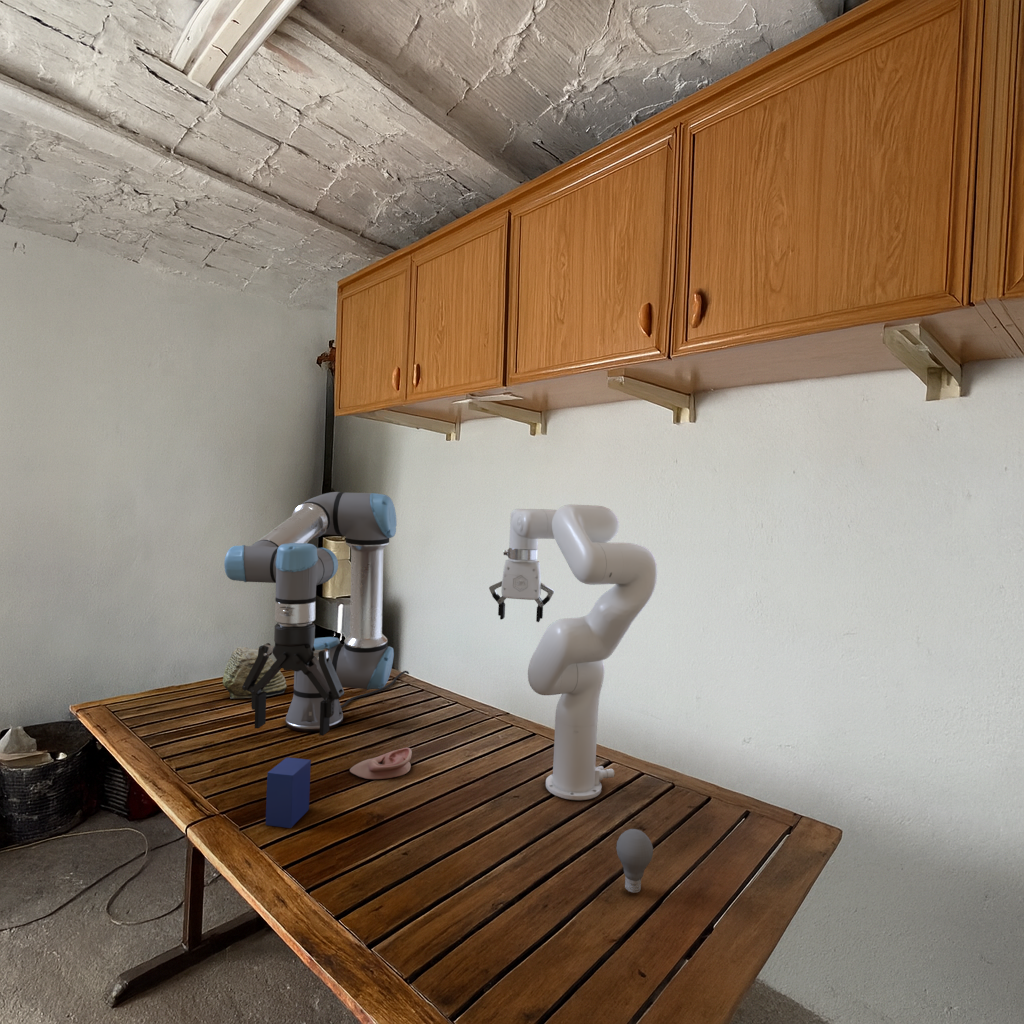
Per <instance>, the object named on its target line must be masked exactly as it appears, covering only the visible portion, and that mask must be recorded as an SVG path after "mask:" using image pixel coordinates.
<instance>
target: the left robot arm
mask: <svg viewBox="0 0 1024 1024" xmlns="http://www.w3.org/2000/svg"><path fill="white" fill-rule="evenodd" d="M396 533H397V513H396V508H395V504H394V502H393V499H392V498H391V497H390V496H389V495H387V494H382V493H375V492H346V491H345V492H343V491H332V492H331V491H330V492H326V493H322V494H319V495H317V496H314V497H312V498H309V499H307V500H306V501H304V502H302V503H301V504H299V505H297V506H296V507H295V508H294V510H293V511H292V514H291V516H289V517H288V518H286V519H285V520H284V521H283V522H281V523H280V524H279V525H277V526H275V528H273V529H271V530H270V531H269V532H267V533H266V534H265V535H263V536H262V537H261V538H259V539H258V540H256V541H255V542H254V543H252V544H251V545H245V544H242V545H233V546H231V547H230V548H229V549H227V551H226V554H225V556H224V562H223V563H224V565H223V566H224V573H225V576H227V578H229V579H230V580H231V581H236V582H244V583H268V584H269V583H270V584H275V599H274V600H275V601H274V602H275V603H274V605H275V607H274V621H275V622H276V624H275V625H274V629H273V630H274V633H273V635H274V636H273V641H274V645H271V643H269V642H266V643H264V644H262V645H260V646H258V648H259V650H258V657H257V659H256V661H255V663H254V665H253V667H252V669H251V670H250V672H249V674H248V676H247V678H246V680H245V682H244V684H243V686H242V689H243V690H244V691H246V690H247V691H249V692H251V694H252V698H251V710H252V711H254V729H260V728H261V727H262V726H264V725H266V715H267V696H266V692H265V691H263V692H261V691H262V690H263V688H264V687H265V686H266V685H267V684H268V683H269V682H270V681H271V679H272V678H273V677H274V676H275V675H276V674H277V673H278V672H279V671H280V672H281V670H282V669H283V671H293V695H292V696H293V697H292V699H291V702H290V704H289V708H288V711H287V713H286V715H285V726H286V728H287V729H289V730H291V731H294V732H295V731H296V732H301V733H316V732H319V736H323V737H324V736H325V735H326V734H327V733H328V732H330V730H332V729H335V728H337V727H339V726H340V725H342V723H343V722H344V714H343V709H342V708H345V707H346V706H347V705H348V704H349V703H350V702H352V701H354V700H356V699H359V698H363V697H367V696H370V695H373V694H376V693H379V692H382V691H384V690H386V689H388V688H390V687H391V686H392V685H393V684H395V683H396V681H397V679H399V678H400V677H401V676H402V675H403V674H407V675H410V672H409V671H408V670H403V671H401V672H400V673H399V674H398V675H396V676H395V677H394V678H393V680H392V681H391V682H390V683H388V681H389V678H390V675H391V673H392V668H393V664H394V656H395V652H394V647H392V646H390V645H389V646H388V638H387V637H386V636H385V635H384V634H383V595H384V550H385V548H386V547H387V546H388V545H389V544H390V539H392V538H394V537H395V535H396ZM324 535H336V536H345V544H346V545H347V546H348V547H349V548H350V617H349V618H350V620H349V623H350V625H349V633H350V634H349V635H348V636H347V637H346V638H345V639H344V641H343V642H344V643H343V644H342V643H341V641H340V639H339V638H338V637H334V636H325V637H316V624H315V623H314V622H315V621H316V600H317V586H319V585H323V584H326V583H327V582H329V581H330V580H331V579H332V578H333V577H335V576H336V574H337V572H338V569H339V560H338V558H337V555H336V554H335V553H334V551H332V550H331V549H329V548H325V547H317V546H316V545H315V544H313V543H309V542H311V541H312V539H317V538H320V537H322V536H324ZM272 655H273V656H274V658H275V660H274V664H273V665H272V666H271V667H270V669H269V670H268V671H267V672H266V673H265V675H264V676H263V677H262V678H261V679H260V680H259V681H258V682H257V684H255V683H256V681H257V679H258V677H259V675H260V673H261V671H262V670H263V668H264V666H265V664H266V662H267V660H268V658H270V656H272ZM344 689H360V690H361V689H363V690H366V691H369V690H372V691H369V692H366V693H363V694H362V693H361V694H358V695H356V696H355V695H354V696H353V697H350V698H349V699H347V700H346V701H345V702H344V703H342V704H341V702H340V698H342V697H343V696H344V695H345V690H344Z"/></svg>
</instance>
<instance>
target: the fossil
mask: <svg viewBox="0 0 1024 1024" xmlns="http://www.w3.org/2000/svg"><path fill="white" fill-rule="evenodd" d="M258 650H259V647H258V648H251V647H247V646H246V647H245V646H238V647H237V648H236V649H235V650H233V651H232V653H231V656H230V657H229V659H228V660H227V663H226V666H225V668H224V671H223V675H222V676H223V677H222V685H223V687H224V688H225V690H226V691H228V693H229V698H230V699H252V694H251V692H249V691H247V690H246V691H244V690H243V689H242V686H243V684H244V682H245V680H246V678H247V676H248V674H249V672H250V670H251V669H252V667H253V665H254V663H255V661H256V659H257V657H258ZM274 663H275V660H273V659H272V658H271V657H269V658H268V660H267V662H266V664H265V666H264V668H263V670H262V671H261V673H260V675H259V677H258V679H257V681H256V683H255V684H257V682H258V681H259V680H260V679H261V678H262V677H263V676H264V675H265V673H266V672H267V671H268V670H269V669H270V667H271V666H272V665H273V664H274ZM287 687H288V686H287V680H286V678H285V676H284V674H283V673H282V672H281V670H280V671H279V672H278V673H277V674H276V675H275V676H274V677H273V678H272V679H271V681H270V682H269V683H268V684H267V685H266V686H265V687H264V688H263V690H262V691H261V692H263V691H265V692H266V697H271V696H275V695H281V694H284V693H285V691H286V689H287Z"/></svg>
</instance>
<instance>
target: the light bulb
mask: <svg viewBox="0 0 1024 1024" xmlns="http://www.w3.org/2000/svg"><path fill="white" fill-rule="evenodd" d="M615 849H616V854H617V857H618V859H619V861H620V863H621V865H622V867H623V873H624V874H623V875H624V876H625V878H624V888H625V890H627V891H628V892H630V893H634V894H635V893H639V892H640V891H641V889H642V887H641V886H642V879H643V877H644V875H645V871H646V868H647V867H648V866H649V864H650V863H651V861H652V859H653V855H654V847H653V843H652V841H651V838H649V836H648V835H647V834H646V833H645V832H643V831H642V830H641V829H636V828H629V829H627V830H625V831H623V832H622V833H621V834H620V835H619V837H618V839H617V841H616V847H615Z"/></svg>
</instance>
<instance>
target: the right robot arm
mask: <svg viewBox="0 0 1024 1024" xmlns="http://www.w3.org/2000/svg"><path fill="white" fill-rule="evenodd" d="M509 520H510V521H509V541H508V543H509V544H508V549H504V550H503V556H506V557H507V558H508V559H506V560H505V561H504V566H503V571H502V578H501V579H502V580H501V581H499V582H497V583H493V584H492V585H489V587H488V589H489V592H490V593H491V596H492V598H493V600H494V601H496V602H497V604H498V607H497V608H498V609H497V611H498V613H497V615H498V617H499V620H504V619H505V617H506V603H505V601H506V599H511V600H512V599H513V600H527V601H535V602H536V604H537V606H536V618H535V619H536V620H535V621H536V622H535V623H540V621H541V619H543V618H544V606H545V605H547V604H548V602H550V600H551V599H552V598H553V595H554V594H555V590H554V589H553V588H551V587H549V586H547V585H546V584H545V583H542V573H541V563H540V561H539V560H538V550H539V549H538V546H539V540H540V539H542V540H545V539H546V540H551V539H552V540H555V543H556V544H557V546H558V548H559V550H560V552H561V554H562V556H563V557H564V559H565V561H566V563H567V566H568V568H569V569H570V571H571V573H572V575H573V576H574V577H575V579H576V580H578V581H579V582H580V583H581V584H585V585H590V586H591V585H592V586H597V585H598V586H599V585H613V586H612V587H610V588H609V589H608V590H606V591H605V592H604V593H602V595H601V596H599V598H597V600H596V602H595V603H594V605H593V606H592V608H591V610H590V611H589V612H588V613H587V614H586V615H584V616H579V617H565V618H559V619H557V620H554V621H553V622H552V623H550V624H549V625H548V627H547V628H546V629H545V630H544V633H543V634H542V637H541V639H540V640H539V642H538V644H537V646H536V648H535V649H534V652H533V653H532V655H531V657H530V660H529V663H528V667H527V681H528V684H529V687H530V688H531V690H533V692H535V693H536V694H537V695H541V696H557V695H560V697H559V699H558V700H557V701H558V702H557V704H556V707H555V719H554V736H553V738H554V740H553V758H552V759H553V761H552V763H553V764H552V773H551V774H549V775H548V776H547V777H546V779H545V789H546V790H547V791H548V792H549V793H550V794H552V795H554V796H555V797H558V798H561V799H565V800H569V801H570V800H571V801H586V800H592V799H594V798H597V797H598V796H599V795H601V793H602V789H603V788H602V787H603V786H602V783H601V781H603V779H611V778H615V770H614V769H613V768H604V766H603V765H600V766H599V765H598V766H596V761H597V742H598V722H599V709H600V708H599V707H600V697H601V692H602V688H603V684H604V680H605V674H606V668H605V667H606V666H605V662H604V660H607V659H608V658H610V657H611V656H612V654H613V653H614V652H615V650H616V649H617V647H618V646H619V644H620V643H621V641H622V640H623V638H624V637H625V635H626V634H627V632H628V630H629V629H630V627H631V625H632V624H633V622H634V621H635V620H636V618H638V616H639V614H640V613H641V612H642V611H643V610H644V609H645V607H646V606H647V604H649V601H650V600H651V598H652V596H653V594H654V592H655V589H656V586H657V581H658V564H657V559H656V557H655V555H654V553H653V552H652V551H651V550H650V548H649V549H648V548H647V547H646V546H644V545H641V544H638V543H634V542H610V541H611V540H613V539H614V538H615V537H616V536H617V534H618V533H619V529H620V522H619V518H618V516H617V514H616V513H615V512H614V511H613V510H611V509H610V508H608V507H606V506H603V505H595V504H594V505H589V504H565V505H562V506H560V507H559V508H557V509H553V508H552V509H547V508H515V509H513V510H512V511H511V513H510V519H509ZM499 588H501V596H500V595H499V593H498V592H497V589H499ZM542 591H544V592H546V596H545V597H544V598H543V599H542V597H541V595H542V594H541V593H542Z"/></svg>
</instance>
